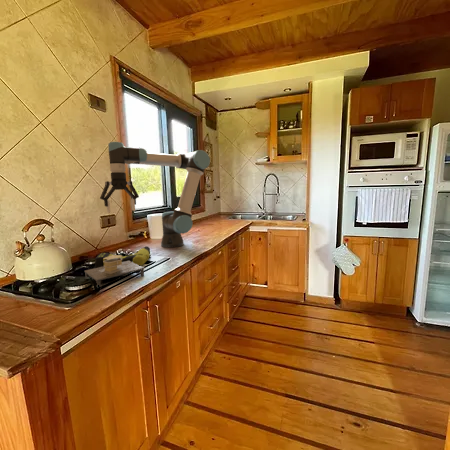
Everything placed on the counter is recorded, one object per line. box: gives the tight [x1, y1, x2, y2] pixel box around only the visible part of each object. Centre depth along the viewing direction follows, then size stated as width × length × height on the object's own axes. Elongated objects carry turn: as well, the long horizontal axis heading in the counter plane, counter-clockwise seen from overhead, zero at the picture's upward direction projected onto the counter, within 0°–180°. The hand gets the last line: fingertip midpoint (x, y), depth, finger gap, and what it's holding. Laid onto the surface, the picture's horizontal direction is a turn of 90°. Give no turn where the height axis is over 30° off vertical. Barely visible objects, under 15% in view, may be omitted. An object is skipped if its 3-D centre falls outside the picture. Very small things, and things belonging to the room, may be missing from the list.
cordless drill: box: [94, 245, 151, 268], centre depth 136 cm, size 7×25×25 cm
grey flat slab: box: [83, 261, 145, 288], centre depth 111 cm, size 20×16×4 cm
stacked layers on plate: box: [99, 254, 129, 274], centre depth 111 cm, size 10×9×6 cm
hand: (121, 211), depth 138 cm, fingers open, 13 cm apart
